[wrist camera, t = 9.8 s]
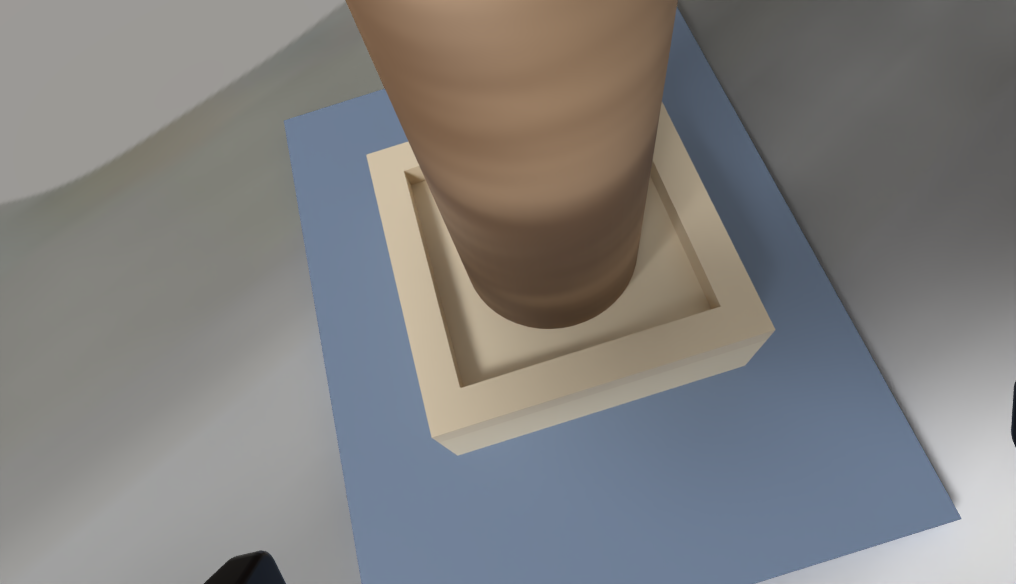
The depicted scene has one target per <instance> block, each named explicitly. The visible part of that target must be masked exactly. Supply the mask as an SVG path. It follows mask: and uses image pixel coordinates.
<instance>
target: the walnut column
mask: <svg viewBox="0 0 1016 584" xmlns="http://www.w3.org/2000/svg"><path fill="white" fill-rule="evenodd" d="M346 2H347V5H348V7H349V9H350V11H351V14H352V16H353V18H354V20H355V23H356V25H357V27H358V29H359V32H360V34H361V36H362V38H363V41H364V43H365V45H366V47H367V50H368V52H369V54H370V56H371V59H372V61H373V63H374V65H375V68H376V70H377V72H378V74H379V77H380V79H381V81H382V83H383V86H384V88H385V90H386V92H387V94H388V97H389V99H390V101H391V103H392V106H393V108H394V110H395V112H396V115H397V117H398V119H399V121H400V124H401V126H402V128H403V130H404V133H405V135H406V137H407V139H408V142H409V144H410V146H411V148H412V151H413V153H414V155H415V157H416V160H417V162H418V164H419V166H420V169H421V171H422V173H423V175H424V178H425V180H426V182H427V184H428V187H429V189H430V191H431V193H432V196H433V198H434V200H435V202H436V205H437V207H438V209H439V211H440V214H441V216H442V218H443V220H444V223H445V225H446V227H447V229H448V232H449V234H450V236H451V238H452V241H453V243H454V245H455V247H456V250H457V252H458V254H459V256H460V259H461V261H462V263H463V265H464V268H465V270H466V272H467V274H468V277H469V279H470V281H471V283H472V285H473V287H474V289H475V291H476V292H477V294H478V295H479V296H480V298H481V299H482V300H483V301H484V302H485V303H486V305H487V306H488V307H490V308H491V309H492V310H493V311H495V312H496V313H497V314H499V315H500V316H502V317H504V318H505V319H507V320H510V321H512V322H514V323H516V324H520V325H523V326H527V327H532V328H538V329H557V328H565V327H570V326H575V325H577V324H580V323H583V322H586V321H588V320H590V319H592V318H594V317H596V316H598V315H599V314H601V313H602V312H604V311H605V310H607V309H608V308H609V307H610V306H611V305H612V304H613V303H615V301H616V300H617V299H618V298H619V297H620V296H621V295H622V293H623V292H624V290H625V289H626V287H627V286H628V284H629V282H630V280H631V278H632V276H633V273H634V269H635V266H636V261H637V255H638V249H639V242H640V236H641V230H642V223H643V217H644V211H645V204H646V198H647V192H648V185H649V179H650V173H651V167H652V160H653V154H654V148H655V141H656V135H657V129H658V122H659V116H660V110H661V103H662V97H663V91H664V84H665V78H666V72H667V66H668V59H669V53H670V47H671V40H672V34H673V28H674V21H675V15H676V9H677V2H678V0H346Z"/></svg>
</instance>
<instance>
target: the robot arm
mask: <svg viewBox="0 0 1016 584" xmlns="http://www.w3.org/2000/svg"><path fill="white" fill-rule="evenodd" d="M1011 435H1012V439H1013V442H1014V444H1015V447H1016V382H1015V385H1014V395H1013V410H1012V425H1011ZM204 584H286V583H285V581H284V579H283V577H282V575H281V573H280V571H279V569H278V567H277V565H276V563H275V561H274V559H273V557H272V556H271V555H270V554H269V553H268V552H266V551H256V552H252V553H248V554H243V555H239V556H236V557H233V558H231V559H230V560H228V561H227V562H226V563H225V564H224V565H223V566H222V567H221V568H220V569H219V570H218V571H217V572H216V573H214V574H213V575H212V576H211V577H210V578H209V579H208V580H207V581H206V582H205V583H204Z"/></svg>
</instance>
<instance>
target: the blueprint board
mask: <svg viewBox="0 0 1016 584" xmlns="http://www.w3.org/2000/svg"><path fill="white" fill-rule="evenodd" d="M284 124H285V130H286V136H287V142H288V148H289V154H290V160H291V166H292V172H293V178H294V184H295V190H296V196H297V202H298V208H299V214H300V220H301V226H302V231H303V237H304V243H305V249H306V255H307V261H308V267H309V273H310V279H311V285H312V291H313V297H314V303H315V309H316V315H317V321H318V327H319V333H320V339H321V345H322V351H323V356H324V362H325V368H326V374H327V380H328V386H329V392H330V398H331V404H332V410H333V416H334V422H335V428H336V434H337V440H338V446H339V452H340V458H341V464H342V470H343V476H344V481H345V487H346V493H347V499H348V505H349V511H350V517H351V523H352V529H353V535H354V541H355V547H356V553H357V559H358V565H359V571H360V577H361V583H362V584H755V583H758V582H761V581H764V580H768V579H771V578H774V577H777V576H780V575H784V574H787V573H790V572H793V571H796V570H800V569H803V568H806V567H809V566H812V565H816V564H819V563H822V562H825V561H828V560H832V559H835V558H838V557H841V556H844V555H848V554H851V553H854V552H857V551H860V550H864V549H867V548H870V547H873V546H876V545H880V544H883V543H886V542H889V541H892V540H896V539H899V538H902V537H905V536H908V535H912V534H915V533H918V532H921V531H924V530H928V529H931V528H934V527H937V526H940V525H944V524H947V523H950V522H953V521H956V520H960V519H961V517H960V515H959V513H958V511H957V510H956V508H955V506H954V504H953V502H952V501H951V499H950V497H949V495H948V493H947V492H946V490H945V488H944V486H943V484H942V483H941V481H940V479H939V477H938V475H937V474H936V472H935V470H934V468H933V466H932V465H931V463H930V461H929V459H928V457H927V456H926V454H925V452H924V450H923V448H922V447H921V445H920V443H919V441H918V439H917V438H916V436H915V434H914V432H913V430H912V429H911V427H910V425H909V423H908V421H907V420H906V418H905V416H904V414H903V412H902V411H901V409H900V407H899V405H898V403H897V402H896V400H895V398H894V396H893V394H892V393H891V391H890V389H889V387H888V385H887V384H886V382H885V380H884V378H883V376H882V375H881V373H880V371H879V369H878V367H877V366H876V364H875V362H874V360H873V358H872V357H871V355H870V353H869V351H868V349H867V348H866V346H865V344H864V342H863V340H862V339H861V337H860V335H859V333H858V331H857V330H856V328H855V326H854V324H853V322H852V321H851V319H850V317H849V315H848V313H847V312H846V310H845V308H844V306H843V304H842V303H841V301H840V299H839V297H838V295H837V294H836V292H835V290H834V288H833V286H832V285H831V283H830V281H829V279H828V277H827V276H826V274H825V272H824V270H823V268H822V267H821V265H820V263H819V261H818V259H817V258H816V256H815V254H814V252H813V250H812V249H811V247H810V245H809V243H808V241H807V240H806V238H805V236H804V234H803V232H802V231H801V229H800V227H799V225H798V223H797V222H796V220H795V218H794V216H793V214H792V213H791V211H790V209H789V207H788V205H787V204H786V202H785V200H784V198H783V196H782V195H781V193H780V191H779V189H778V187H777V186H776V184H775V182H774V180H773V178H772V177H771V175H770V173H769V171H768V169H767V168H766V166H765V164H764V162H763V160H762V159H761V157H760V155H759V153H758V151H757V150H756V148H755V146H754V144H753V142H752V141H751V139H750V137H749V135H748V133H747V132H746V130H745V128H744V126H743V124H742V123H741V121H740V119H739V117H738V115H737V114H736V112H735V110H734V108H733V106H732V105H731V103H730V101H729V99H728V97H727V96H726V94H725V92H724V90H723V88H722V87H721V85H720V83H719V81H718V79H717V78H716V76H715V74H714V72H713V70H712V69H711V67H710V65H709V63H708V61H707V60H706V58H705V56H704V54H703V52H702V51H701V49H700V47H699V45H698V43H697V42H696V40H695V38H694V36H693V35H692V33H691V31H690V29H689V27H688V26H687V24H686V22H685V20H684V18H683V17H682V15H681V13H680V11H679V9H678V8H677V9H676V15H675V21H674V28H673V34H672V40H671V47H670V53H669V59H668V66H667V72H666V78H665V84H664V91H663V97H662V103H661V110H660V116H659V122H658V129H657V135H656V141H655V148H654V154H653V160H652V167H651V173H650V179H649V185H648V192H647V198H646V204H645V211H644V217H643V223H642V230H641V236H640V242H639V249H638V255H637V261H636V266H635V269H634V273H633V276H632V278H631V280H630V282H629V284H628V286H627V287H626V289H625V290H624V292H623V293H622V295H621V296H620V297H619V298H618V299H617V300H616V301H615V303H613V304H612V305H611V306H610V307H609V308H608V309H607V310H605V311H604V312H602V313H601V314H599V315H598V316H596V317H594V318H592V319H590V320H588V321H586V322H583V323H580V324H577V325H575V326H570V327H565V328H557V329H538V328H532V327H527V326H523V325H520V324H516V323H514V322H512V321H510V320H507V319H505V318H504V317H502V316H500V315H499V314H497V313H496V312H495V311H493V310H492V309H491V308H490V307H488V306H487V305H486V303H485V302H484V301H483V300H482V299H481V298H480V296H479V295H478V294H477V292H476V291H475V289H474V287H473V285H472V283H471V281H470V279H469V277H468V274H467V272H466V270H465V268H464V265H463V263H462V261H461V259H460V256H459V254H458V252H457V250H456V247H455V245H454V243H453V241H452V238H451V236H450V234H449V232H448V229H447V227H446V225H445V223H444V220H443V218H442V216H441V214H440V211H439V209H438V207H437V205H436V202H435V200H434V198H433V196H432V193H431V191H430V189H429V187H428V184H427V182H426V180H425V178H424V175H423V173H422V171H421V169H420V166H419V164H418V162H417V160H416V157H415V155H414V153H413V151H412V148H411V146H410V144H409V142H408V139H407V137H406V135H405V133H404V130H403V128H402V126H401V124H400V121H399V119H398V117H397V115H396V112H395V110H394V108H393V106H392V103H391V101H390V99H389V97H388V94H387V92H386V90H385V89H383V90H379V91H376V92H373V93H370V94H367V95H363V96H360V97H357V98H354V99H351V100H348V101H344V102H341V103H338V104H335V105H332V106H329V107H325V108H322V109H319V110H316V111H313V112H310V113H306V114H303V115H300V116H297V117H294V118H291V119H287V120H284Z"/></svg>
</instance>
